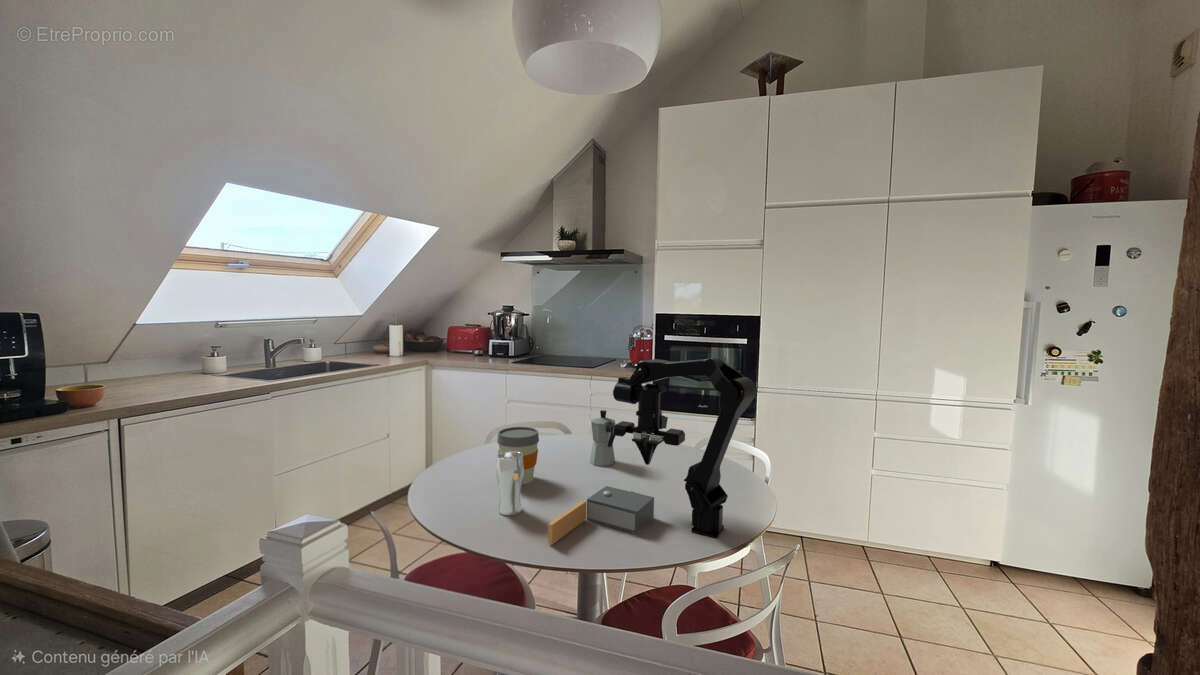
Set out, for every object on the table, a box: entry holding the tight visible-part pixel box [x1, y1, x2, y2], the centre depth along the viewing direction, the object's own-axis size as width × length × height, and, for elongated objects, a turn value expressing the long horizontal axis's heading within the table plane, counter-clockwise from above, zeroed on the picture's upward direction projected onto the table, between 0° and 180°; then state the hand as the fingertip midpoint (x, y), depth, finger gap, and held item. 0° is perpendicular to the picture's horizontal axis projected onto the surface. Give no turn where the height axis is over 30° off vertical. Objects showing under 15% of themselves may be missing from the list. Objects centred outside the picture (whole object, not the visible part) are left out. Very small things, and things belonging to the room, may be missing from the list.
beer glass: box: [496, 451, 524, 517], centre depth 129 cm, size 7×7×15 cm
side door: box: [547, 500, 587, 545], centre depth 118 cm, size 15×2×5 cm, turn 151°
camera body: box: [586, 485, 655, 535], centre depth 126 cm, size 14×12×6 cm
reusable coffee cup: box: [497, 426, 540, 486], centre depth 150 cm, size 13×13×15 cm
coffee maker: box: [589, 409, 616, 468], centre depth 166 cm, size 15×9×18 cm, turn 25°
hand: (647, 464), depth 131 cm, fingers closed
